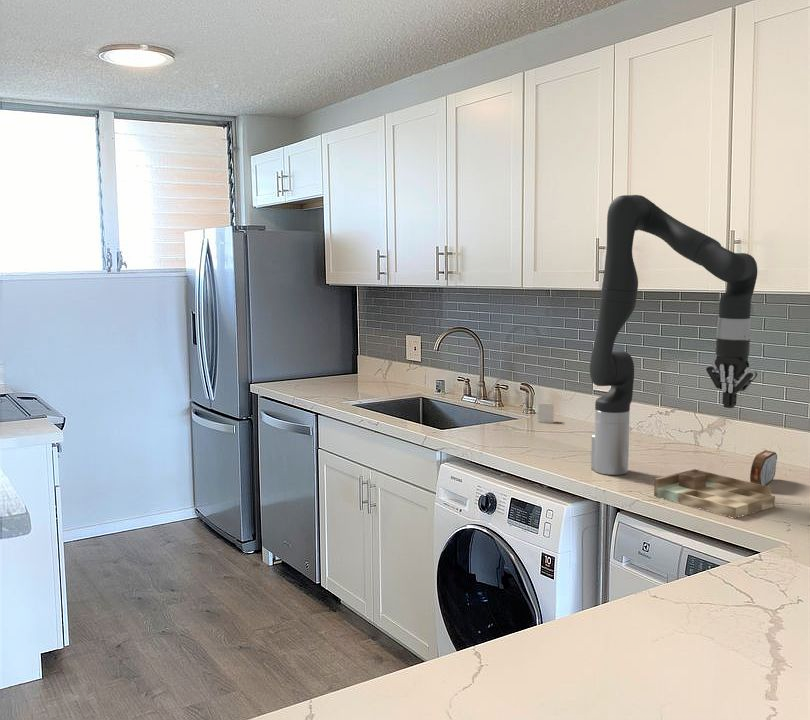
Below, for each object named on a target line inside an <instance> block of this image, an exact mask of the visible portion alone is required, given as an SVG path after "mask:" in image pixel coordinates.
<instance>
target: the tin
mask: <svg viewBox="0 0 810 720" xmlns="http://www.w3.org/2000/svg"><path fill="white" fill-rule="evenodd" d="M777 460H778V454H777V452H775V451H772V450H771V451H770V450H767V449H764V450H763V451H761V452H759V453H758V454H756V455H755V457H754V459H753V460H752V464H751V468H750V474H749V482H752V483H756V484H760V485H764V486H767V485H769V484H771V483H772V481H773V479H774V477H775V476H776V475H775V474H776V468H777Z"/></svg>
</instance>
